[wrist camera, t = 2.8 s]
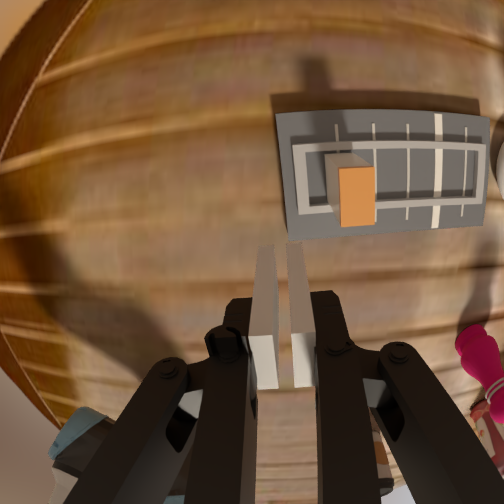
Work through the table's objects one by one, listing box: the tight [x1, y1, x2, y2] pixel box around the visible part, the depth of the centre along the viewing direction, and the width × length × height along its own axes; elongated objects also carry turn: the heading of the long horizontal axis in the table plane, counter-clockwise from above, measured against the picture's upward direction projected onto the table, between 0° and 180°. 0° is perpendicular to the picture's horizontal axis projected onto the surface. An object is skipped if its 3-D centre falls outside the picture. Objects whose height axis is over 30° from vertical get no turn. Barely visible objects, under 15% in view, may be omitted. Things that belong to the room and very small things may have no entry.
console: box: [275, 109, 490, 241], centre depth 31 cm, size 26×14×3 cm, turn 97°
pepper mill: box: [455, 324, 504, 423], centre depth 34 cm, size 7×7×20 cm
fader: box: [324, 153, 375, 227], centre depth 28 cm, size 3×5×8 cm, turn 7°
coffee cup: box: [372, 431, 394, 497], centre depth 51 cm, size 8×8×15 cm
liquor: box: [470, 399, 504, 479], centre depth 40 cm, size 7×7×28 cm
